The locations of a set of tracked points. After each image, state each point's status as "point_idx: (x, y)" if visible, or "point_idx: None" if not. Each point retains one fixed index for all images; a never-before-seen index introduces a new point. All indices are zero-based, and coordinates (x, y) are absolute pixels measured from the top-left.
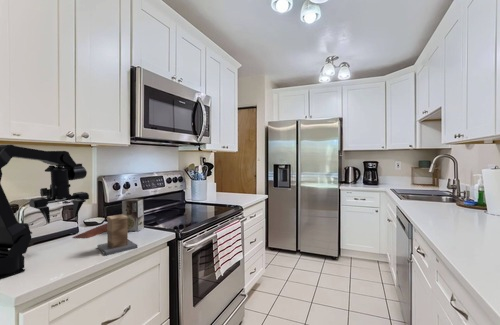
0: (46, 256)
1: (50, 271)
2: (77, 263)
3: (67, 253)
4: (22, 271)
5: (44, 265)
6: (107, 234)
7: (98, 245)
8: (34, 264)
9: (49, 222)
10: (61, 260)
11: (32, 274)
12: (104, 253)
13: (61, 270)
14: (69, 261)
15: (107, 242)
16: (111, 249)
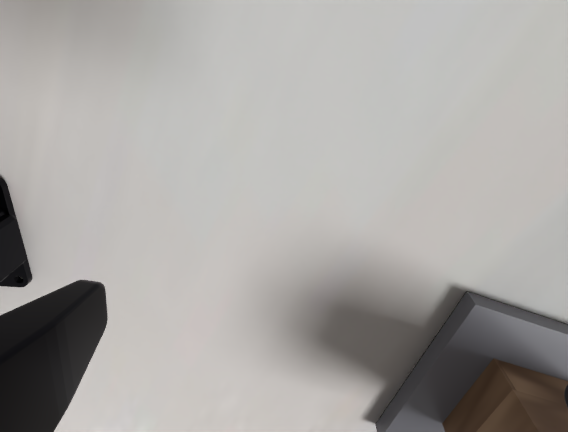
0: (201, 137)
1: (119, 376)
2: (239, 394)
3: (308, 213)
4: (18, 283)
5: (129, 285)
6: (536, 429)
7: (467, 319)
8: (97, 220)
9: (98, 337)
10: (218, 295)
11: None
12: (391, 404)
13: (155, 403)
14: (233, 343)
15: (502, 372)
16: (427, 430)
